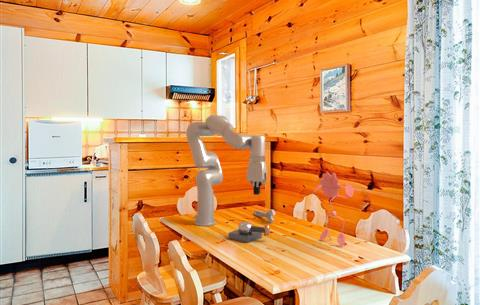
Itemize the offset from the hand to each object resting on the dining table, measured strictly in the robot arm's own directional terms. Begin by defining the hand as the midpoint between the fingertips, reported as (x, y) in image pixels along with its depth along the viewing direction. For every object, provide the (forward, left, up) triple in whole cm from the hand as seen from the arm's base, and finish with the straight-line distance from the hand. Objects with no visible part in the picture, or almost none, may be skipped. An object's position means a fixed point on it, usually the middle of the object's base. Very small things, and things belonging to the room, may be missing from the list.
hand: (256, 194), depth 187 cm
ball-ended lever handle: (+4, -8, -18) cm, 20 cm away
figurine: (+37, +8, -22) cm, 43 cm away
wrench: (-17, +32, -22) cm, 42 cm away
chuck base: (0, -9, -21) cm, 23 cm away
